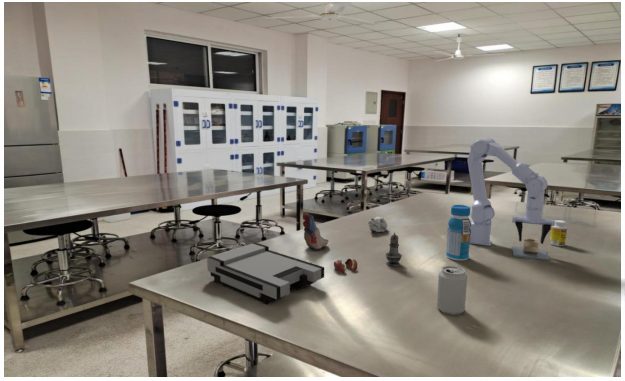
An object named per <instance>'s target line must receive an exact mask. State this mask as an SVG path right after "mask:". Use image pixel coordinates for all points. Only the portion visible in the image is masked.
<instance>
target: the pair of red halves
mask: <svg viewBox="0 0 625 381" xmlns="http://www.w3.org/2000/svg"><path fill="white" fill-rule="evenodd" d="M333 266H334V269H335V270H337V271H338V272H339V273H341V274H344V273H345V272H346V270H347V268H349V269H351V270H352V271H353V272H357V270H358V261H357V260H356V259H353V258H348V259H346V261H344V262H343V260H342V259H337V260H336V261H334V262H333Z"/></svg>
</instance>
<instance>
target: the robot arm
mask: <svg viewBox="0 0 625 381" xmlns="http://www.w3.org/2000/svg"><path fill="white" fill-rule="evenodd" d="M469 147H470V150H469V154H468V157H467V166H468V172H469V179H470V183H471V185H470V186H471V189H472V196H473V203H472V205H471V211H470V218H471V220H472V221H471V220H470V222H471V227H470V229H471V235H470V244H471V245H480V246H488V247H489V246H492V241H491V231H492V219H493V218H494V217H495V214H496V212H495V209H494V208H493V206H492V202H491V201H490V200H489V198H488V194H487V193H488V192H487V188H486V187H487V186H486V181H485V175H484V170H483V164H482V163H483V162H484V160H485V159H486V158H487V157H488V156H490V157H491V156H492V157H496V158H498V159H499V160H500V161H501V162H503V163H504V164H505V165H506V166H507V167H509V168H510V169H511V174H512V175H513V176H514V177H515V178H516V179H518V180H519V181H520V182H521V183H522V184H523V185H525V189H526V190H527V196H526V204H525V215H524V216H512V218H511V223H512V224H513V223H515V227H516V230H517V233H518V241H519V242H522V238H523V237H522V236H523V228H524V227H523V226H524V225H523V224H527V225H528V224H530V225H540V226H541V236H540V241H539V243H540V244H542V245H543V244H544V241H545V239H546V237H547V235H548V234H549V232H551V229H552V226H555V220H554V219H547V218H543V211H544V202H545V193H546V192H545V190H546V189H547V188H548V185H549V184H548V181H547V179H546V178H545V177H544V176H541V175H540V174H539V172H535V171H534V170H532V169H531V168H530V164H528V163H525V162H519V161H517V160H516V159H515V158H514V157H513V156H512V155H511V154H510V153H509V152H508V151H506V149H504V148H503V147H502V146H501V144H500V143H498V142H496V140H494V139H493V138H483V139H482V138H481V139H480V138H479V139H477V140H475V141H473V142H472V144H471V145H470V146H469Z"/></svg>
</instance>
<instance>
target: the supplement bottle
mask: <svg viewBox="0 0 625 381" xmlns="http://www.w3.org/2000/svg"><path fill="white" fill-rule="evenodd" d="M554 221H555V226H551V230H550V238H549V243H550V245H552V246H555V247H564V246H565V245H566V241H567V240H566V239H567V232H568V227H567V225H566V223H567V222H566V221H565V220H561V219H560V220H559V219H557V220H556V219H555V220H554Z"/></svg>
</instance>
